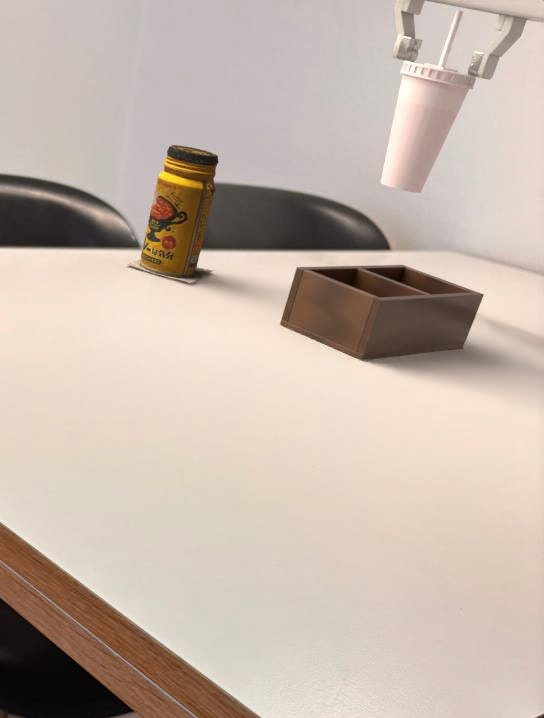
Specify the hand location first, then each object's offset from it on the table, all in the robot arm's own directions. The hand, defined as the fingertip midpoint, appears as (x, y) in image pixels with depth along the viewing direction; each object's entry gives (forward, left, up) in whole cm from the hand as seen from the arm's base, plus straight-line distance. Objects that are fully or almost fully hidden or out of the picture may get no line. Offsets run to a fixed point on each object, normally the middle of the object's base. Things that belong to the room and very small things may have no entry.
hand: (439, 68), depth 91 cm
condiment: (+22, +3, -24) cm, 32 cm away
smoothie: (0, 0, -10) cm, 10 cm away
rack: (0, -4, -24) cm, 24 cm away
